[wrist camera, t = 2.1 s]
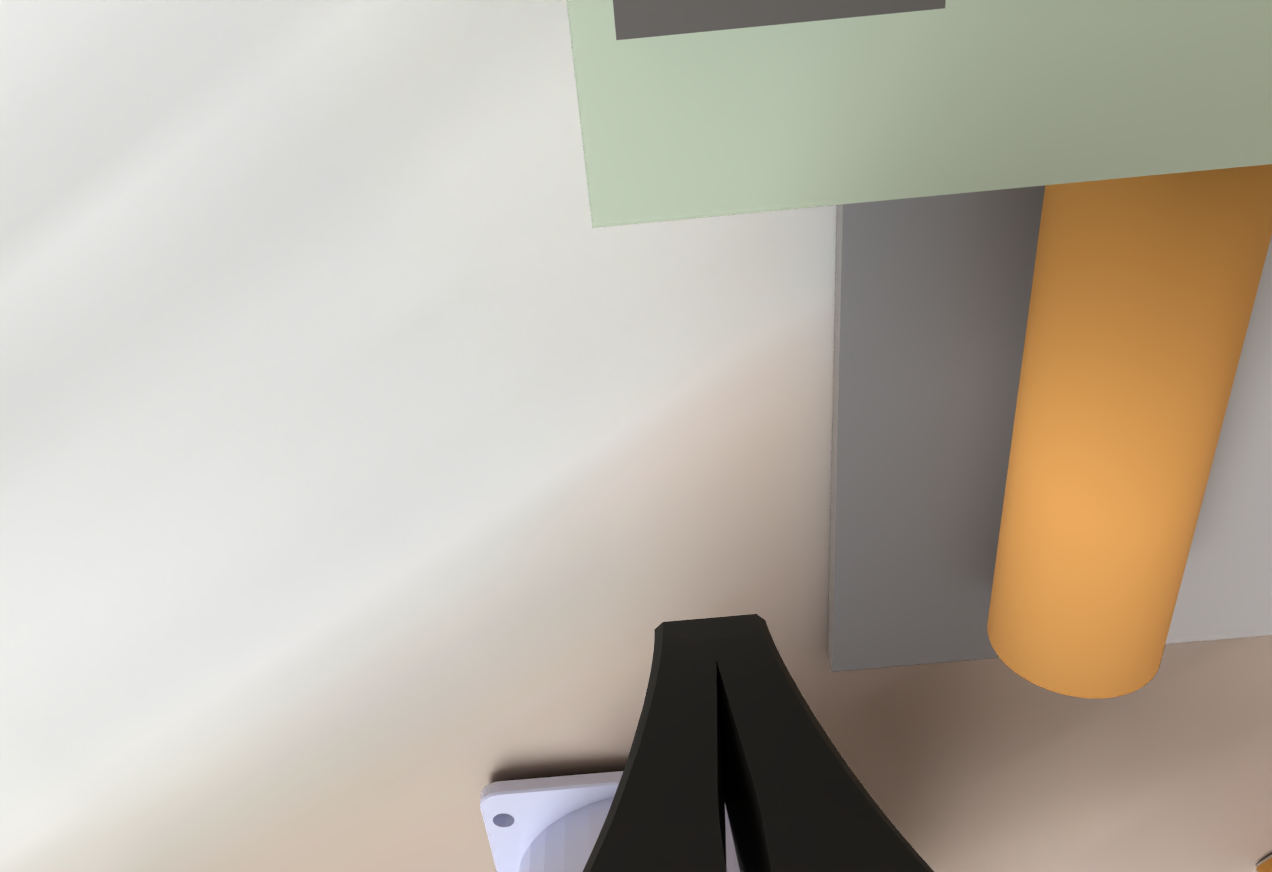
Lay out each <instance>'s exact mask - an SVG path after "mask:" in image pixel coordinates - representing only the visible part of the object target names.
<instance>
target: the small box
mask: <svg viewBox="0 0 1272 872" xmlns="http://www.w3.org/2000/svg"><path fill="white" fill-rule="evenodd" d="M1256 866H1257V868H1256V871H1257V872H1272V854H1271V855H1269V856H1268V857H1266V858H1265V859H1263V860H1262V861H1260V862H1259V863H1258V864H1257V865H1256Z"/></svg>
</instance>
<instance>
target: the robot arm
mask: <svg viewBox="0 0 1272 872" xmlns="http://www.w3.org/2000/svg"><path fill="white" fill-rule="evenodd" d="M480 808H481V812H482V816H483V820H484V824H485V828H486V832H487V836H488V839H489V843H490V847H491V851H492V855H493V859H494V863H495V867H496V870H497V872H934V871H933V870H932V869H931V868H930V867H929V866H928V865H927V863H926V862H925V861H924V860H923V859H922V858H921V857H920V856H919V855H918V853H917V852H916V851H915V850H914V849H913V848H912V846H911V845H910V844H909V843H908V842H907V841H906V839H905V838H904V837H903V836H902V835H901V834H900V832H899V831H898V830H897V829H896V828H895V826H894V825H893V824H892V823H891V822H890V820H889V819H888V818H887V817H886V815H885V814H884V813H883V812H882V810H881V809H880V808H879V806H878V805H877V804H876V803H875V801H874V800H873V799H872V798H871V796H870V795H869V794H868V792H867V791H866V790H865V788H864V787H863V785H862V784H861V783H860V781H859V780H858V779H857V777H856V776H855V775H854V773H853V772H852V771H851V769H850V768H849V767H848V765H847V764H846V762H845V761H844V759H843V758H842V757H841V755H840V754H839V752H838V751H837V749H836V748H835V746H834V745H833V743H832V742H831V740H830V739H829V737H828V736H827V734H826V733H825V731H824V730H823V728H822V726H821V725H820V723H819V722H818V720H817V719H816V717H815V716H814V714H813V713H812V711H811V710H810V708H809V706H808V705H807V703H806V701H805V700H804V698H803V696H802V695H801V693H800V691H799V689H798V688H797V686H796V684H795V682H794V680H793V679H792V677H791V675H790V673H789V672H788V670H787V668H786V666H785V664H784V662H783V660H782V658H781V656H780V654H779V652H778V650H777V648H776V646H775V644H774V641H773V639H772V637H771V635H770V632H769V630H768V627H767V625H766V622H765V620H764V619H762V618H761V617H760V616H758V615H757V614H752V615H741V616H729V617H717V618H706V619H694V620H683V621H671V622H663V623H661V624H660V625H659V626H658V627H657V628H656V629H655V643H654V653H653V661H652V668H651V673H650V679H649V683H648V688H647V692H646V697H645V701H644V705H643V709H642V713H641V716H640V720H639V723H638V726H637V730H636V733H635V737H634V740H633V744H632V747H631V751H630V754H629V757H628V760H627V763H626V766H625V768H624V771H616V772H604V773H592V774H580V775H568V776H556V777H544V778H532V779H520V780H509V781H498V782H494V783H491V784H489V785H487V786H486V787H484V789H483V790H482V793H481V801H480ZM504 813H505V814H504Z"/></svg>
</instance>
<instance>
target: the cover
mask: <svg viewBox="0 0 1272 872" xmlns="http://www.w3.org/2000/svg"><path fill="white" fill-rule="evenodd" d="M567 8H568V17H569V26H570V35H571V43H572V52H573V61H574V70H575V79H576V87H577V96H578V105H579V114H580V123H581V131H582V140H583V149H584V158H585V167H586V175H587V184H588V193H589V202H590V210H591V219H592V228H596V227H607V226H617V225H628V224H639V223H649V222H660V221H670V220H681V219H692V218H702V217H713V216H724V215H734V214H745V213H756V212H766V211H777V210H788V209H798V208H809V207H820V206H830V205H841V204H852V203H862V202H873V201H884V200H894V199H905V198H916V197H926V196H937V195H948V194H958V193H969V192H980V191H990V190H1001V189H1012V188H1022V187H1033V186H1043V185H1054V184H1065V183H1075V182H1086V181H1097V180H1107V179H1118V178H1129V177H1139V176H1150V175H1161V174H1171V173H1182V172H1193V171H1203V170H1214V169H1225V168H1235V167H1246V166H1257V165H1267V164H1272V0H567Z"/></svg>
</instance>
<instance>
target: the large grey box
mask: <svg viewBox="0 0 1272 872" xmlns="http://www.w3.org/2000/svg"><path fill="white" fill-rule="evenodd" d="M1044 191H1045V185H1043V186H1033V187H1022V188H1012V189H1001V190H990V191H980V192H969V193H958V194H948V195H937V196H926V197H916V198H905V199H894V200H884V201H873V202H862V203H852V204H841V205H837V219H836V269H835V318H834V368H833V418H832V468H831V517H830V567H829V617H828V659H829V663H830V666H831V670H832V672H837V671H849V670H861V669H872V668H884V667H896V666H907V665H919V664H931V663H942V662H954V661H966V660H978V659H989V658H1000V657H999V656H998V655H997V654H996V652H995V650H994V649H993V647H992V645H991V643H990V640H989V636H988V631H987V624H988V616H989V608H990V601H991V593H992V586H993V578H994V570H995V563H996V555H997V548H998V540H999V532H1000V525H1001V517H1002V510H1003V502H1004V495H1005V487H1006V479H1007V472H1008V464H1009V457H1010V449H1011V441H1012V434H1013V426H1014V419H1015V411H1016V404H1017V396H1018V388H1019V381H1020V373H1021V366H1022V358H1023V350H1024V343H1025V335H1026V328H1027V320H1028V312H1029V305H1030V297H1031V290H1032V282H1033V275H1034V267H1035V259H1036V252H1037V244H1038V237H1039V229H1040V221H1041V214H1042V206H1043V199H1044ZM1266 635H1272V236H1271V240H1270V244H1269V248H1268V251H1267V255H1266V259H1265V263H1264V267H1263V271H1262V274H1261V278H1260V282H1259V286H1258V290H1257V294H1256V298H1255V301H1254V305H1253V309H1252V313H1251V317H1250V321H1249V324H1248V328H1247V332H1246V336H1245V340H1244V344H1243V347H1242V351H1241V355H1240V359H1239V363H1238V367H1237V371H1236V374H1235V378H1234V382H1233V386H1232V390H1231V394H1230V397H1229V401H1228V405H1227V409H1226V413H1225V417H1224V420H1223V424H1222V428H1221V432H1220V436H1219V440H1218V444H1217V447H1216V451H1215V455H1214V459H1213V463H1212V467H1211V470H1210V474H1209V478H1208V482H1207V486H1206V490H1205V493H1204V497H1203V501H1202V505H1201V509H1200V513H1199V516H1198V520H1197V524H1196V528H1195V532H1194V536H1193V540H1192V543H1191V547H1190V551H1189V555H1188V559H1187V563H1186V566H1185V570H1184V574H1183V578H1182V582H1181V586H1180V589H1179V593H1178V597H1177V601H1176V605H1175V609H1174V613H1173V616H1172V620H1171V624H1170V628H1169V632H1168V636H1167V639H1166V643H1165V644H1173V643H1184V642H1196V641H1208V640H1219V639H1231V638H1243V637H1254V636H1266Z"/></svg>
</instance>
